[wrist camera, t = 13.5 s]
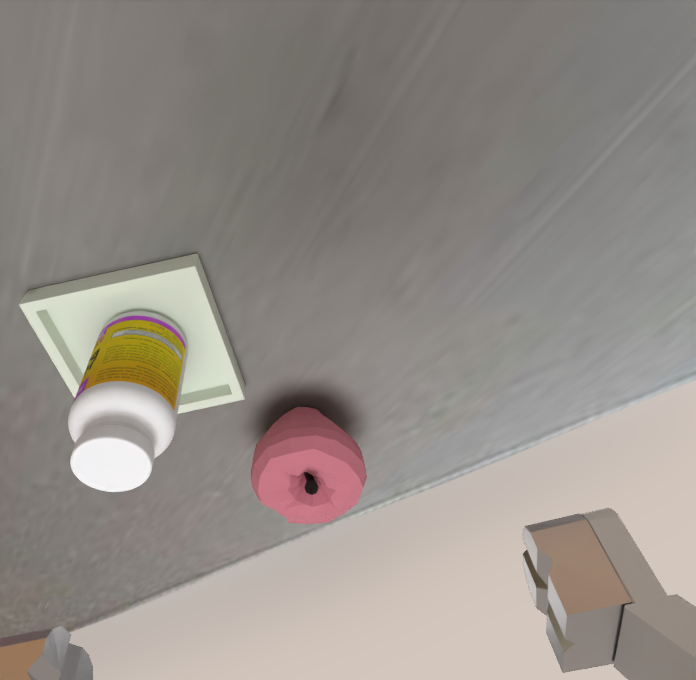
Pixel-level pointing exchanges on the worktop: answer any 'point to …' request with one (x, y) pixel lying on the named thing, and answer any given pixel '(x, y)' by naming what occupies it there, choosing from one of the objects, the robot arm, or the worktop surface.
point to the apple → (307, 468)
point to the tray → (140, 295)
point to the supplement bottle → (127, 401)
